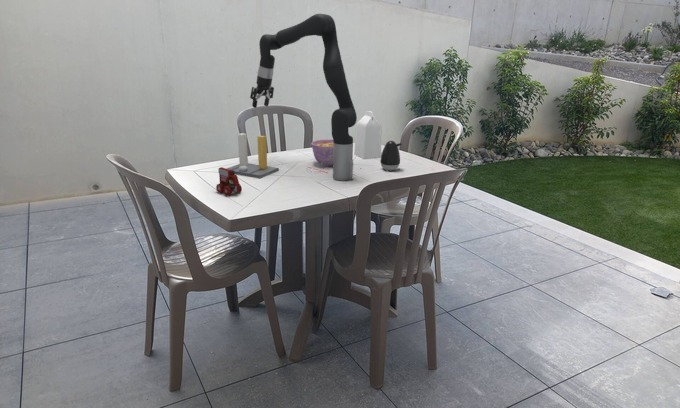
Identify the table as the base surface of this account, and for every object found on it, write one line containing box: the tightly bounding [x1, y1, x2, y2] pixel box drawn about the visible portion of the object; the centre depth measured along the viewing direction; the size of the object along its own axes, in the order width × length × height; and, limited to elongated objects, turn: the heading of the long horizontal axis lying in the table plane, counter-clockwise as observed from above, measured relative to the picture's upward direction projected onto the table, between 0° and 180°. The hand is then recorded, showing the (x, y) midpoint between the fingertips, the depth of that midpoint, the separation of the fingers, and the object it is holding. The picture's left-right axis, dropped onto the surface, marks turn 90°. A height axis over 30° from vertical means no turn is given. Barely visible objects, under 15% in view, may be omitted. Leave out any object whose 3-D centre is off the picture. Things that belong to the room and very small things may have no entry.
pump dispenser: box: [380, 140, 402, 171], centre depth 225 cm, size 10×10×15 cm
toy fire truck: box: [215, 166, 243, 197], centre depth 185 cm, size 7×12×10 cm, turn 50°
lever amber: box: [256, 135, 268, 169], centre depth 216 cm, size 3×3×16 cm
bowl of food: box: [311, 139, 333, 167], centre depth 234 cm, size 20×20×12 cm
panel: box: [226, 162, 280, 179], centre depth 218 cm, size 22×16×2 cm
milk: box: [353, 110, 382, 160], centre depth 251 cm, size 12×12×26 cm
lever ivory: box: [237, 132, 249, 166], centre depth 221 cm, size 3×3×16 cm
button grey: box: [239, 166, 248, 172], centre depth 214 cm, size 4×4×2 cm
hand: (260, 106), depth 227 cm, fingers open, 8 cm apart
